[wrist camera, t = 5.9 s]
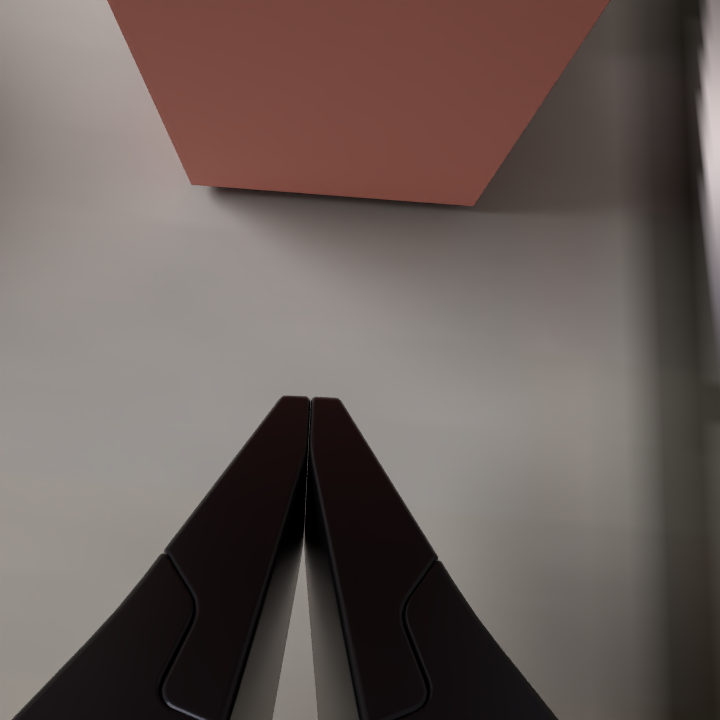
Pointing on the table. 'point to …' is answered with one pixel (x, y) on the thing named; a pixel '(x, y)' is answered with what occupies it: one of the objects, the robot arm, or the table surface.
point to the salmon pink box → (351, 88)
